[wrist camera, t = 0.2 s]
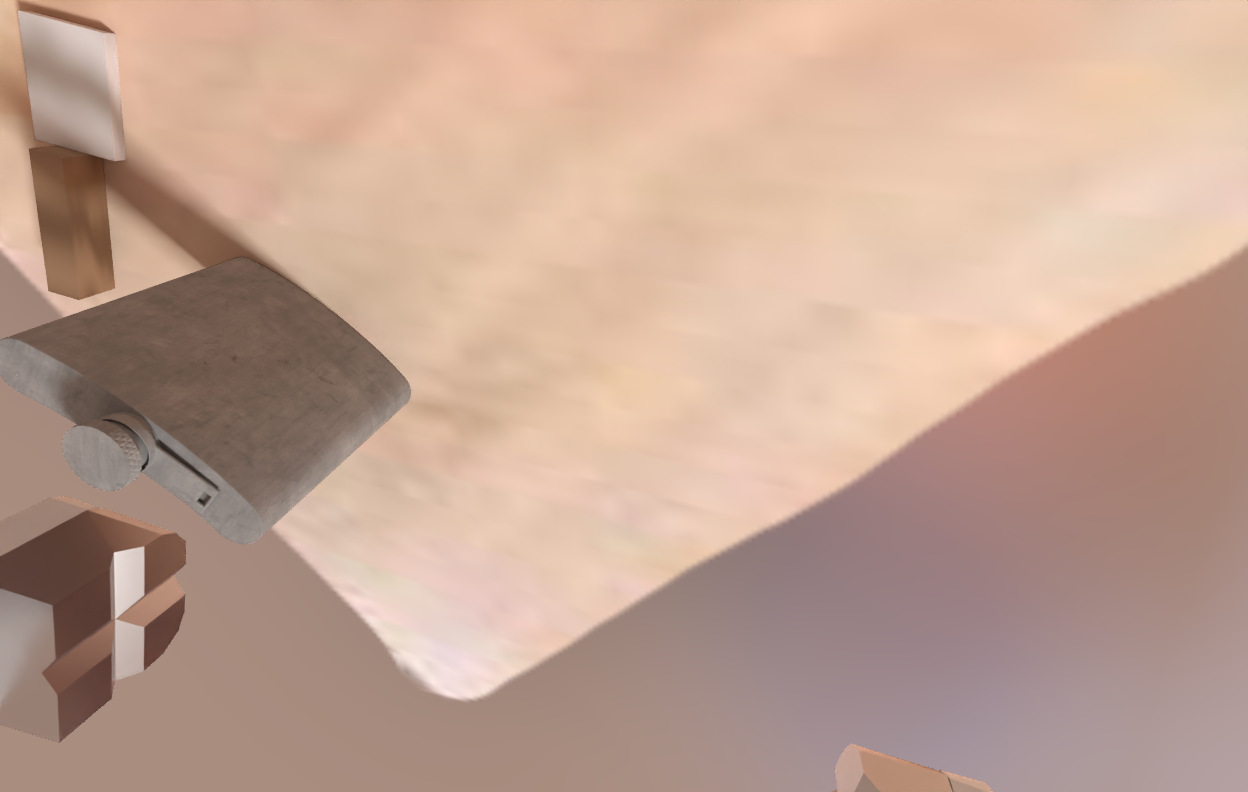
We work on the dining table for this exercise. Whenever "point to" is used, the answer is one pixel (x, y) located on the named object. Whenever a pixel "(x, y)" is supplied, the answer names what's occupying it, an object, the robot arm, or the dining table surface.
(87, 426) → the hip flask
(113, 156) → the spatula
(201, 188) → the dining table surface
